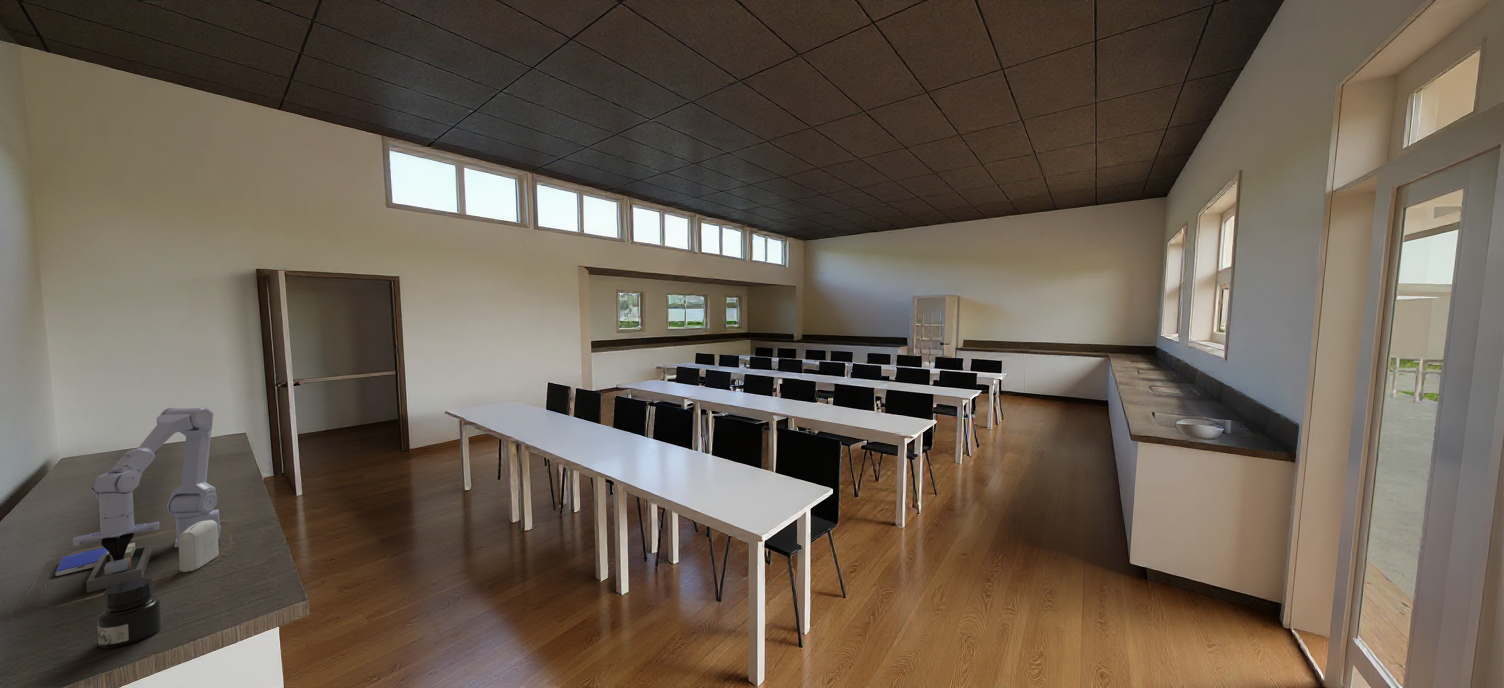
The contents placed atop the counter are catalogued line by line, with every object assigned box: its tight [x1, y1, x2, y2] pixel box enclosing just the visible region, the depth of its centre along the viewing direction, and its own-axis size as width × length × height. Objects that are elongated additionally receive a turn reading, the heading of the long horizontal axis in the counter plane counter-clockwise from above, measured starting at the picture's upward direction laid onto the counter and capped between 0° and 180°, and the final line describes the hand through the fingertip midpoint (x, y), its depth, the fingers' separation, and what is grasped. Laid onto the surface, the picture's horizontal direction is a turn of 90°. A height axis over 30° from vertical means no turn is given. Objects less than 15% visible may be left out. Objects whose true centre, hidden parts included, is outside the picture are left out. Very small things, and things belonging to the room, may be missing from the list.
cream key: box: [127, 542, 136, 553], centre depth 141 cm, size 4×4×3 cm
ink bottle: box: [96, 577, 163, 649], centre depth 109 cm, size 10×9×12 cm
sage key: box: [110, 548, 133, 561], centre depth 138 cm, size 4×4×3 cm
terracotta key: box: [111, 557, 131, 571], centre depth 134 cm, size 4×4×3 cm
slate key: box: [104, 558, 128, 575], centre depth 131 cm, size 4×4×3 cm
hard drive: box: [55, 547, 109, 577], centre depth 140 cm, size 2×8×12 cm
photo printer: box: [178, 520, 220, 573], centre depth 141 cm, size 10×4×12 cm, turn 20°
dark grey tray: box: [85, 544, 152, 594], centre depth 136 cm, size 9×21×3 cm, turn 47°
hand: (119, 561), depth 134 cm, fingers closed, pressing on terracotta key
